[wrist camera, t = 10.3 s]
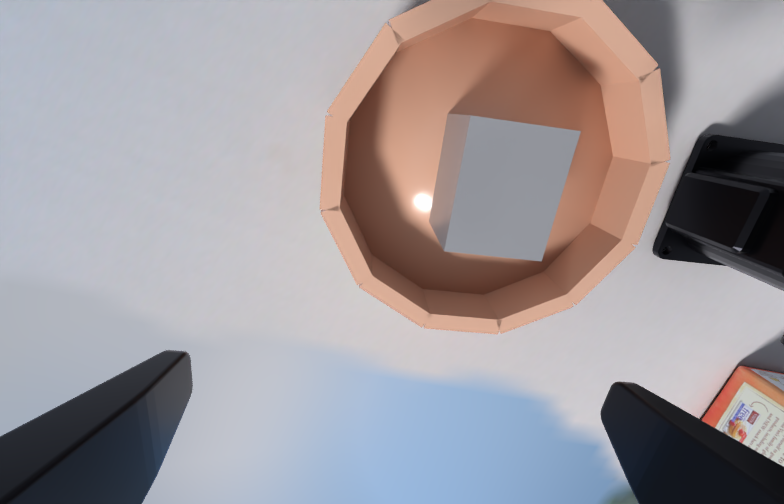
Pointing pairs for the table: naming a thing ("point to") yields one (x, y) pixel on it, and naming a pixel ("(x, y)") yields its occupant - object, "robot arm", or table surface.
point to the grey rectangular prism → (499, 186)
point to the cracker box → (752, 411)
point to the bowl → (504, 102)
